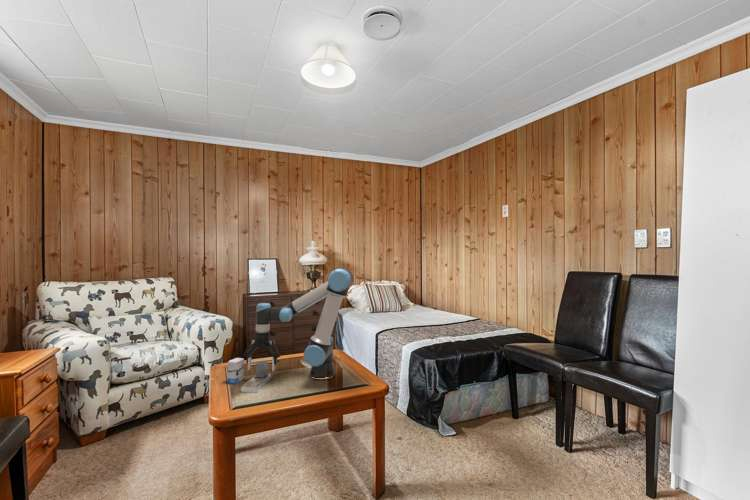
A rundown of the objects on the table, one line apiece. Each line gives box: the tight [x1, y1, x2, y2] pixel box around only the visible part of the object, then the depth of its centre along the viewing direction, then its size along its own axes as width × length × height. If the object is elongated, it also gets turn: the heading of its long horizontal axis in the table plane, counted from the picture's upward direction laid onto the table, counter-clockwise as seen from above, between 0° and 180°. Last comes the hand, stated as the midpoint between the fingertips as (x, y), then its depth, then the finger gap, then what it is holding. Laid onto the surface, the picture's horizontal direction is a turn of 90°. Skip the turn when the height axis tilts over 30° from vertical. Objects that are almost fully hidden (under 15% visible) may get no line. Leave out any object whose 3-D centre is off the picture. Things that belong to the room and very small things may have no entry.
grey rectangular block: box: [254, 361, 269, 378], centre depth 201 cm, size 5×5×10 cm
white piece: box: [240, 373, 272, 393], centre depth 194 cm, size 8×22×3 cm, turn 177°
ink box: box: [226, 357, 245, 385], centre depth 200 cm, size 8×5×12 cm, turn 168°
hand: (261, 369), depth 201 cm, fingers open, 13 cm apart
